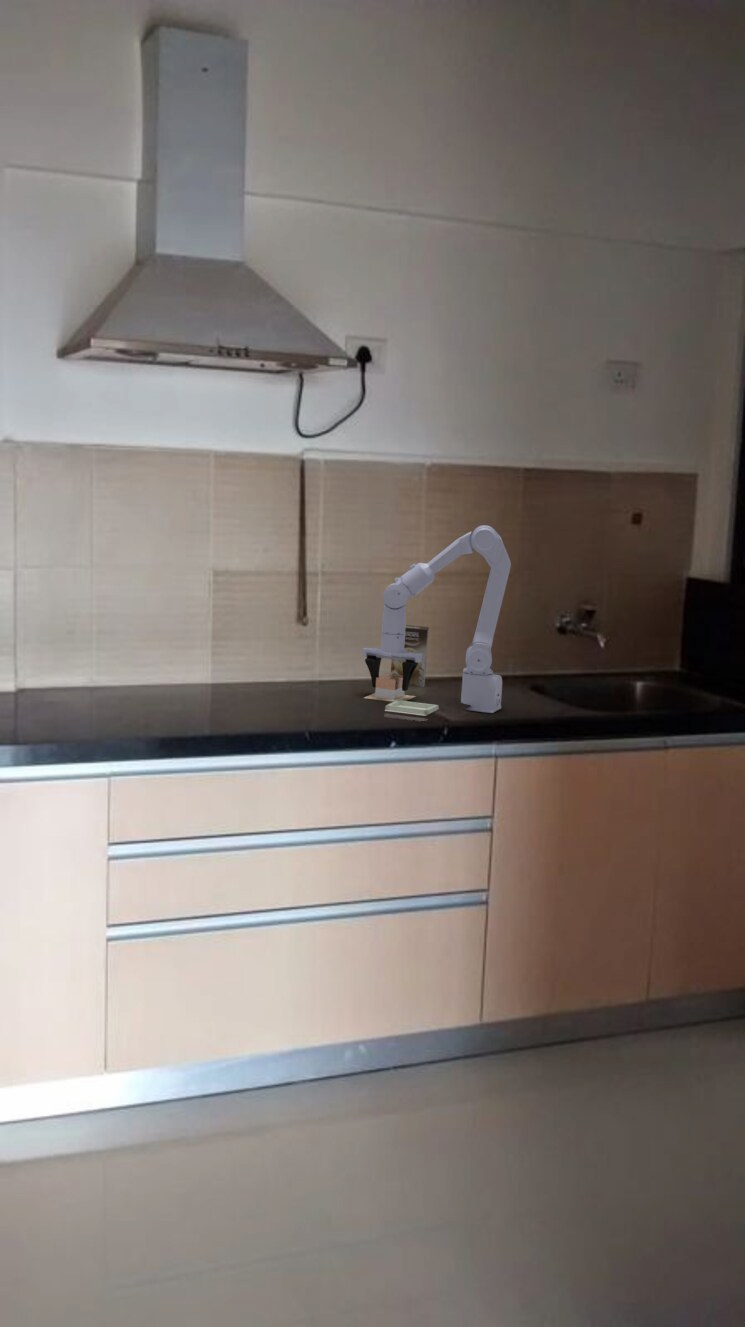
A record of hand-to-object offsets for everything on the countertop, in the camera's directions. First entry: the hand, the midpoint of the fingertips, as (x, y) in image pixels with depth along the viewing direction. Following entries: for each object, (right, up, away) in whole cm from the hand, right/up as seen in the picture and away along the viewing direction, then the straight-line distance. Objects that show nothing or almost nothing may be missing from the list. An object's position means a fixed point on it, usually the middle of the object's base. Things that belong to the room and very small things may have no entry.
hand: (390, 688), depth 322 cm
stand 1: (0, -4, +1) cm, 4 cm away
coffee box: (+5, 0, +24) cm, 25 cm away
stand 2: (+5, -6, -14) cm, 16 cm away
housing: (0, -2, 0) cm, 2 cm away
